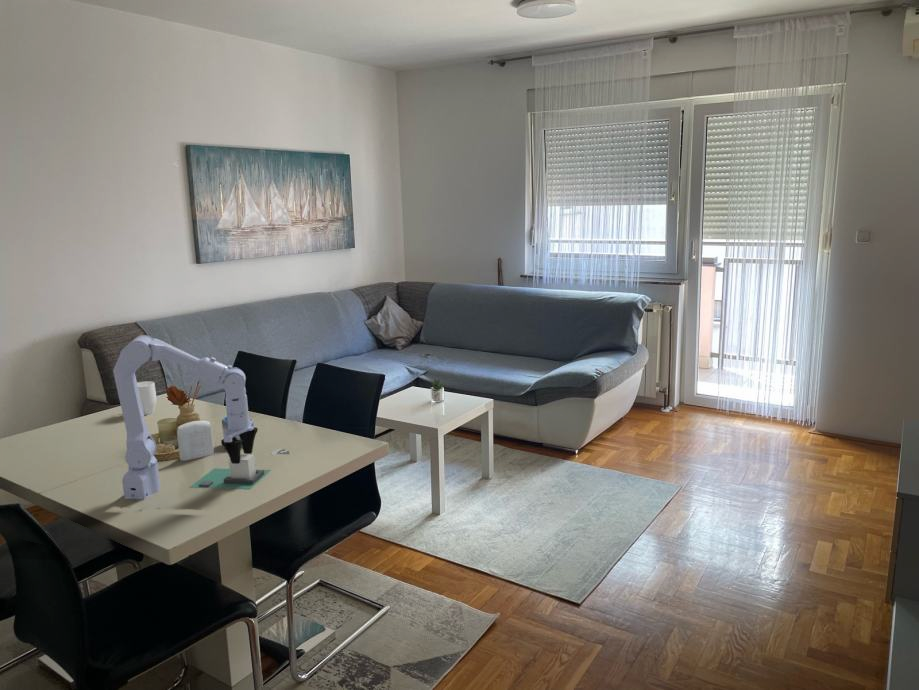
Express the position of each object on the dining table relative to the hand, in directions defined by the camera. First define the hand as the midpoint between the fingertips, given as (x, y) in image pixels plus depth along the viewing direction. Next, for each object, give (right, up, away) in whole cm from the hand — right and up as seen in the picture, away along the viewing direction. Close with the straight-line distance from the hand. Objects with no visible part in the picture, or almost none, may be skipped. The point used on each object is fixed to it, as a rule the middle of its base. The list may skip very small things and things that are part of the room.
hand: (242, 458), depth 196 cm
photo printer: (-21, -4, +22) cm, 30 cm away
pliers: (+1, -4, +20) cm, 20 cm away
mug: (-62, +5, +75) cm, 97 cm away
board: (-4, -7, +2) cm, 8 cm away
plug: (0, -6, +1) cm, 6 cm away
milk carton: (-13, -1, +33) cm, 36 cm away
